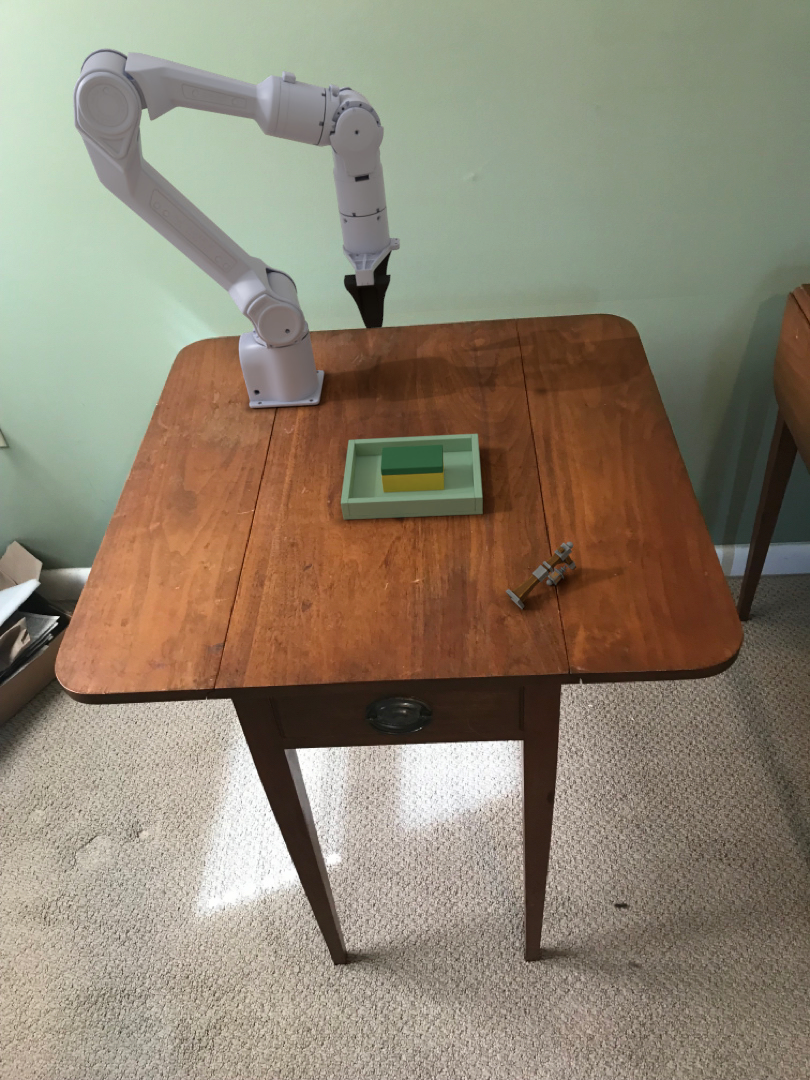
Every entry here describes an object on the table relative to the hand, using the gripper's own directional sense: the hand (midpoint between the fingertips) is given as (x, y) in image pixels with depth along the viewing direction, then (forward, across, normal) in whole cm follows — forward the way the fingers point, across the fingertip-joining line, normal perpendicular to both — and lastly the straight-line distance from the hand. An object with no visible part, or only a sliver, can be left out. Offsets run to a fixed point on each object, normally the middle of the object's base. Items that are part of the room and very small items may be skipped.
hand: (375, 312), depth 101 cm
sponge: (+9, -24, -5) cm, 26 cm away
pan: (+9, -24, -5) cm, 26 cm away
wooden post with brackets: (+10, -41, -18) cm, 46 cm away
